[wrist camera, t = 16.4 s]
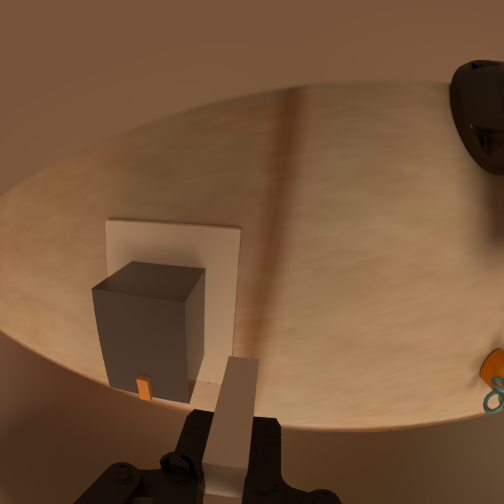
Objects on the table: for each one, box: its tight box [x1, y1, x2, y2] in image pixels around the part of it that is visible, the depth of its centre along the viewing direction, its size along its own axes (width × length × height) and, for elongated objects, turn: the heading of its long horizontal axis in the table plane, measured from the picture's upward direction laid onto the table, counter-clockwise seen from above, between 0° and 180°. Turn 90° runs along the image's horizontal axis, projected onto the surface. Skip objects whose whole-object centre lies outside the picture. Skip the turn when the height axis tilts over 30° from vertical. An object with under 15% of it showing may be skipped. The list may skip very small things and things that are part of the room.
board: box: [105, 219, 241, 384], centre depth 26 cm, size 18×14×7 cm
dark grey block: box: [92, 261, 206, 404], centre depth 24 cm, size 10×8×9 cm
